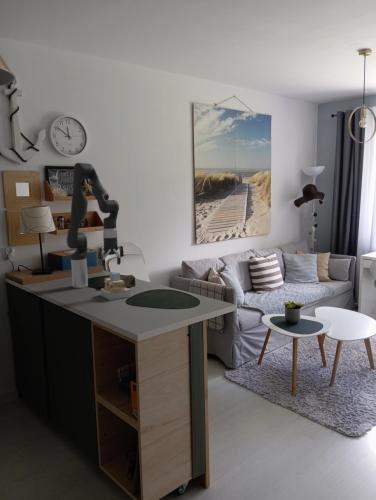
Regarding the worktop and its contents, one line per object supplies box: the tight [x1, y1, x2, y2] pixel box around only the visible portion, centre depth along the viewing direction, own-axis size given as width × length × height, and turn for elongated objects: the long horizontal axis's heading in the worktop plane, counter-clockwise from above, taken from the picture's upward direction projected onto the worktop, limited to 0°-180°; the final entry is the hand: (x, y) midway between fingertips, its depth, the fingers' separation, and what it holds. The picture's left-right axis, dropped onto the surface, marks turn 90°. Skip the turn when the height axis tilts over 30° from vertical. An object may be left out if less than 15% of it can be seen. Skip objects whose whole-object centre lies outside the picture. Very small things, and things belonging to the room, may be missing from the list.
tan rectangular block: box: [104, 278, 126, 292], centre depth 226 cm, size 14×6×5 cm, turn 33°
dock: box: [100, 287, 131, 301], centre depth 225 cm, size 13×12×4 cm
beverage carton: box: [102, 274, 136, 288], centre depth 248 cm, size 8×19×7 cm, turn 109°
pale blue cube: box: [109, 271, 121, 281], centre depth 224 cm, size 4×4×4 cm
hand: (111, 265), depth 226 cm, fingers open, 8 cm apart
